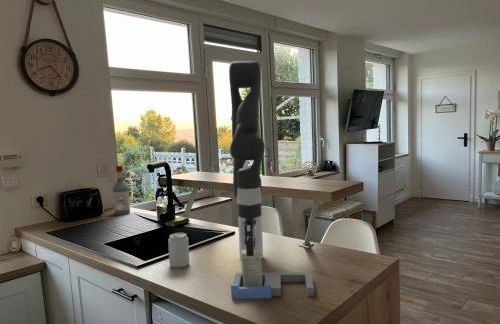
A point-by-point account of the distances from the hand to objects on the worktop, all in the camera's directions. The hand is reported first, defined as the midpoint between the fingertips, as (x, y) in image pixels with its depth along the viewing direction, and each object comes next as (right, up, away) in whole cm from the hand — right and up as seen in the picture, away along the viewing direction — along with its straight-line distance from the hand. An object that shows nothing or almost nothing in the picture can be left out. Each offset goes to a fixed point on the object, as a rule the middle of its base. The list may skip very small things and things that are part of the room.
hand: (251, 250), depth 119 cm
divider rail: (+6, -12, 0) cm, 14 cm away
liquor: (-80, -4, +114) cm, 140 cm away
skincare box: (+1, -12, +1) cm, 12 cm away
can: (-27, -11, +23) cm, 37 cm away
